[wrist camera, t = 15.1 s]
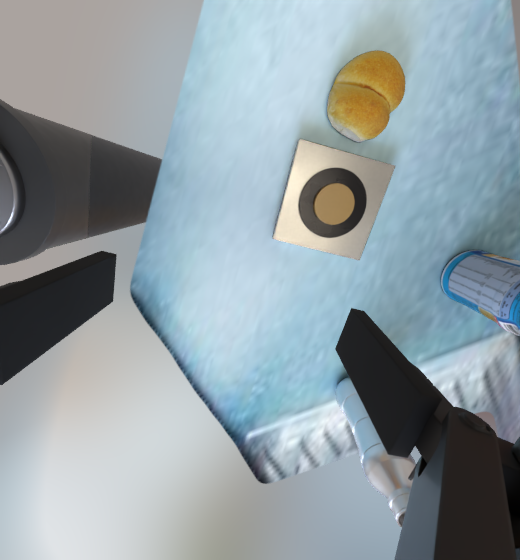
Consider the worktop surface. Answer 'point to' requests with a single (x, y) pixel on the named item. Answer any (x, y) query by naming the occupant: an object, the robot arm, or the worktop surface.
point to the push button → (331, 199)
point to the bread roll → (366, 95)
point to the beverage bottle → (486, 286)
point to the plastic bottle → (376, 453)
